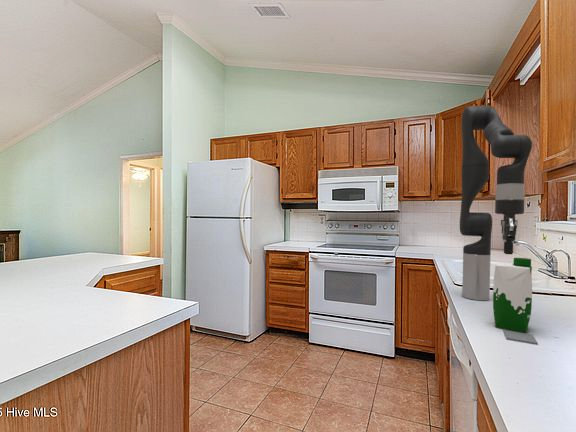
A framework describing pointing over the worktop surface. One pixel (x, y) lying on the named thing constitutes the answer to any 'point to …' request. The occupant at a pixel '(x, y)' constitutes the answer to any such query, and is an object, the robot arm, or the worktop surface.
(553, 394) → the worktop surface
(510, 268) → the soya milk
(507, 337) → the rubber pad
